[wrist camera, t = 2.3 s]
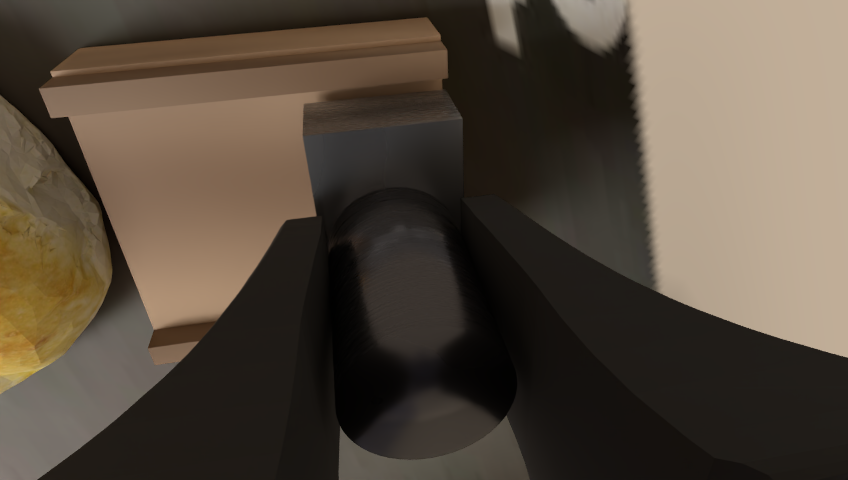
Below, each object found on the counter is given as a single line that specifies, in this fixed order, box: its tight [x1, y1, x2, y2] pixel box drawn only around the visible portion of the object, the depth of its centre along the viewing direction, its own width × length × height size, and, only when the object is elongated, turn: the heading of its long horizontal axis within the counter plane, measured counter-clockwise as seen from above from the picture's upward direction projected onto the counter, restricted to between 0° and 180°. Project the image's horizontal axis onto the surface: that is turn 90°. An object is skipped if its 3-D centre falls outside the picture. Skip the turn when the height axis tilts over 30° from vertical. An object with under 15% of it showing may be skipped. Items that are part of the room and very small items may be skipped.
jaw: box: [303, 89, 517, 460], centre depth 10 cm, size 5×3×5 cm, turn 3°
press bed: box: [39, 17, 448, 365], centre depth 12 cm, size 6×7×2 cm
